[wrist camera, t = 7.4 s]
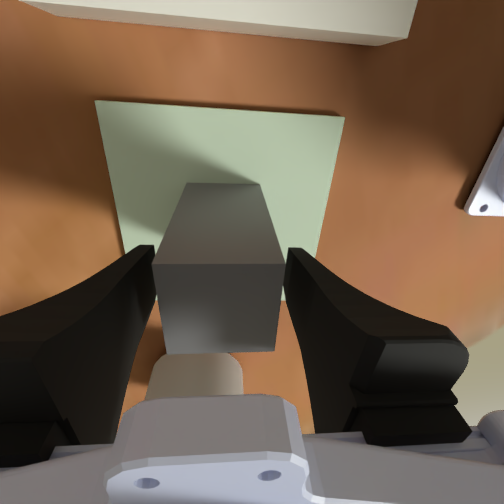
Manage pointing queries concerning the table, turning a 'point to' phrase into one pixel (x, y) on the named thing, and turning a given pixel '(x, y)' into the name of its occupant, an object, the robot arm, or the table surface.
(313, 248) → the mat
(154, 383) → the can
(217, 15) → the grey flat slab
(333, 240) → the table surface
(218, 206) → the plug
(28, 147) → the table surface
